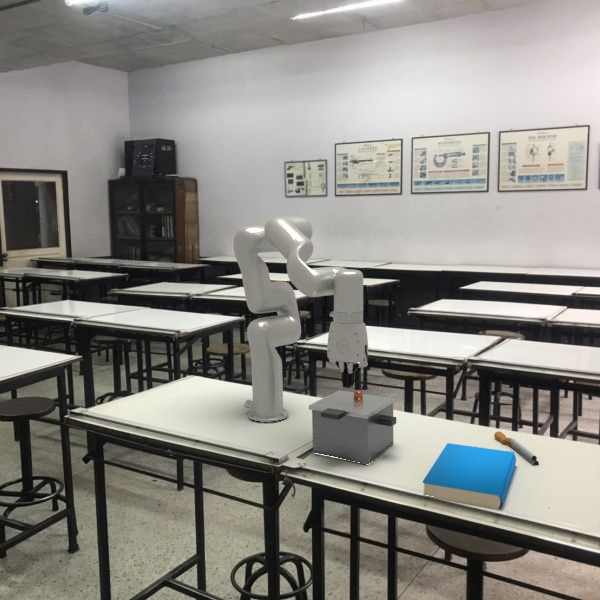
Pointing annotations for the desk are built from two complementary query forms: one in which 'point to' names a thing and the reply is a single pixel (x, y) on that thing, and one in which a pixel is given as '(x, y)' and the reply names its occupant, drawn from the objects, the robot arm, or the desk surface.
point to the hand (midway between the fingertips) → (348, 386)
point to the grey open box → (354, 435)
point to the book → (471, 475)
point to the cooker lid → (350, 405)
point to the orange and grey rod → (516, 447)
